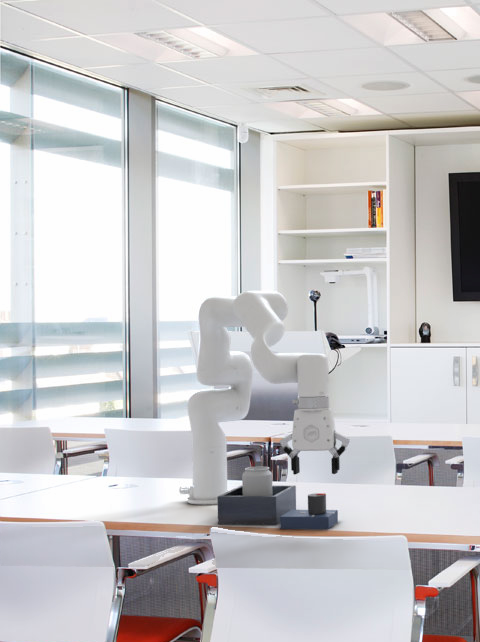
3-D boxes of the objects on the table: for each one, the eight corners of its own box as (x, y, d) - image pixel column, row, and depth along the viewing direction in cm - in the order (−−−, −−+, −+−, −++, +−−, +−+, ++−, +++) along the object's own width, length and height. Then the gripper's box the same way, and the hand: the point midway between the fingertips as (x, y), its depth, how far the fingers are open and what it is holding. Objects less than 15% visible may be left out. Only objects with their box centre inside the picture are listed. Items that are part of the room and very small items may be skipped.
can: (278, 512, 257) (277, 465, 256) (263, 517, 250) (262, 469, 249) (253, 510, 259) (252, 464, 259) (237, 516, 252) (236, 468, 252)
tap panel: (280, 529, 240) (279, 515, 240) (291, 521, 249) (290, 509, 249) (329, 529, 239) (329, 516, 239) (339, 521, 248) (338, 509, 247)
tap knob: (305, 514, 242) (305, 495, 241) (310, 511, 246) (310, 492, 246) (323, 514, 241) (323, 495, 241) (328, 511, 245) (327, 492, 245)
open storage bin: (217, 524, 247) (217, 496, 247) (241, 511, 264) (240, 485, 264) (276, 524, 245) (275, 496, 245) (296, 511, 262) (295, 485, 262)
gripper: (274, 405, 240) (276, 476, 241) (344, 404, 238) (346, 475, 239) (284, 403, 248) (285, 471, 248) (351, 402, 246) (353, 471, 246)
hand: (315, 473), depth 243 cm, fingers open, 9 cm apart
